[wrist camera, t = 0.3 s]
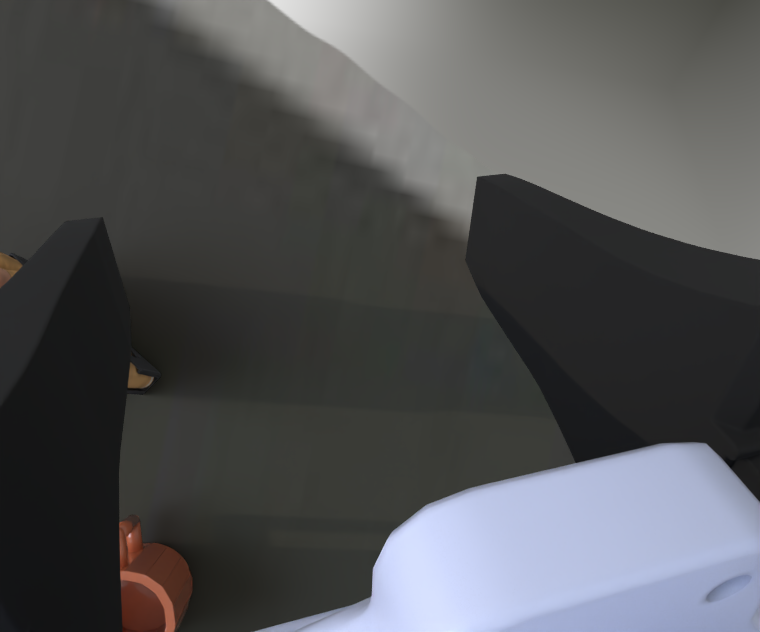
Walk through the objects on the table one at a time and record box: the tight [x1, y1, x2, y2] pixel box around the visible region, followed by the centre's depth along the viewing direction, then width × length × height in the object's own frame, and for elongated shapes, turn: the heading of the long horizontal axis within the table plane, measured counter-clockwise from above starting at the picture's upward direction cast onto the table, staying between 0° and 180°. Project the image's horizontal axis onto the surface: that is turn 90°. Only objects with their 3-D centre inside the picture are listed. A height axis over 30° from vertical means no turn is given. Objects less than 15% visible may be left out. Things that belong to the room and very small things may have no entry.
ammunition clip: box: [0, 252, 161, 395], centre depth 34 cm, size 11×2×12 cm, turn 48°
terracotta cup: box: [119, 515, 193, 632], centre depth 36 cm, size 8×6×6 cm
